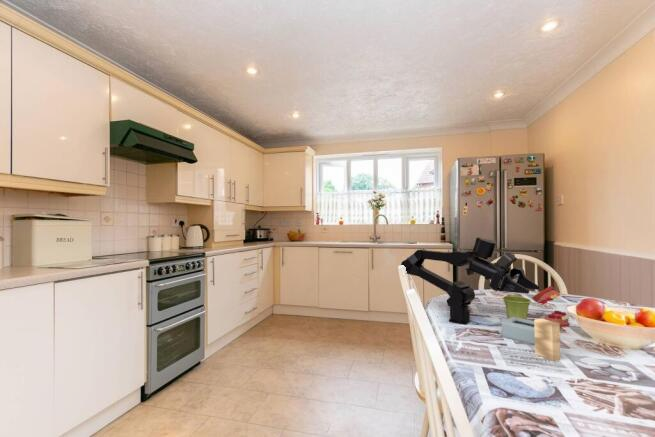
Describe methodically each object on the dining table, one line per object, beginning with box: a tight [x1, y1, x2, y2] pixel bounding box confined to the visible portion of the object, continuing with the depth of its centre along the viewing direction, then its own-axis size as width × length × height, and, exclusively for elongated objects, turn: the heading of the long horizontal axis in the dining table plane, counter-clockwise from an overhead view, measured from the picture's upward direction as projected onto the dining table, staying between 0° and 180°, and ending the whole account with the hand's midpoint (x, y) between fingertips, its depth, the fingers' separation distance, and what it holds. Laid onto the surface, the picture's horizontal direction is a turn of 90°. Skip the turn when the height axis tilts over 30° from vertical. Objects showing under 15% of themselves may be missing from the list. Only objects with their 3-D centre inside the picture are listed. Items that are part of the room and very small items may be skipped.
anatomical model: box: [531, 285, 570, 328], centre depth 115 cm, size 10×8×15 cm
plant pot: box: [502, 295, 532, 320], centre depth 117 cm, size 9×9×9 cm
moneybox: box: [501, 317, 535, 346], centre depth 100 cm, size 11×9×5 cm
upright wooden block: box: [533, 318, 561, 362], centre depth 86 cm, size 5×3×10 cm, turn 19°
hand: (534, 290), depth 98 cm, fingers open, 9 cm apart
